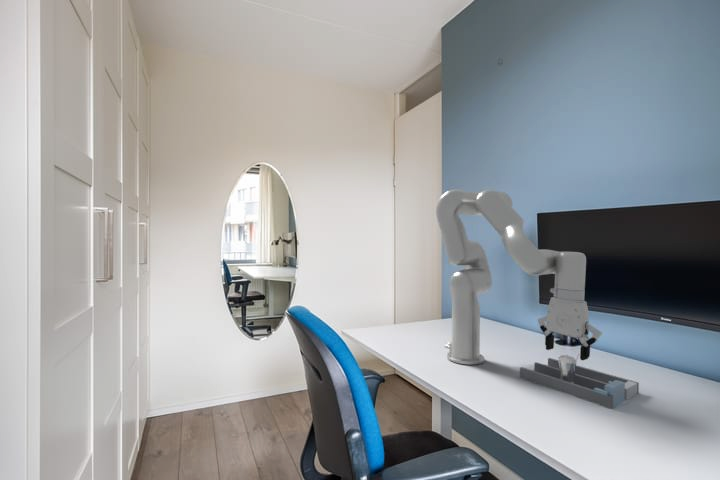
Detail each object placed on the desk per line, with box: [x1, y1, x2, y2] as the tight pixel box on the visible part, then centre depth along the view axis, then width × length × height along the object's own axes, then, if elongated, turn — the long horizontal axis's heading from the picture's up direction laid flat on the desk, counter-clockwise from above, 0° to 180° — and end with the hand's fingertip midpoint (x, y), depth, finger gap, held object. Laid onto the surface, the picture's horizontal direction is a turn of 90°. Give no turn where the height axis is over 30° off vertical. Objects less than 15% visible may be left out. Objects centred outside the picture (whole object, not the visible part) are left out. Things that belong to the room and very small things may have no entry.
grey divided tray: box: [519, 357, 640, 410], centre depth 107 cm, size 25×17×5 cm
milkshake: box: [557, 353, 580, 384], centre depth 105 cm, size 4×5×10 cm
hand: (566, 354), depth 106 cm, fingers open, 9 cm apart
